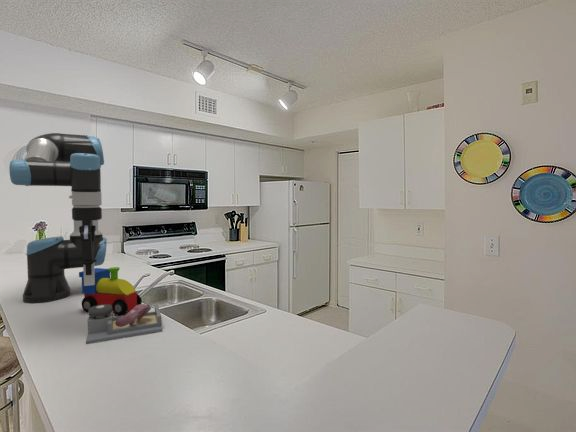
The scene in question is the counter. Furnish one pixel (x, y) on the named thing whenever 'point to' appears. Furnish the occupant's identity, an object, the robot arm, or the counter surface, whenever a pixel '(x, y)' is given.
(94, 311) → the wheel cap
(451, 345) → the counter surface
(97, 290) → the toy train
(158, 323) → the grey tray
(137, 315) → the video game controller
